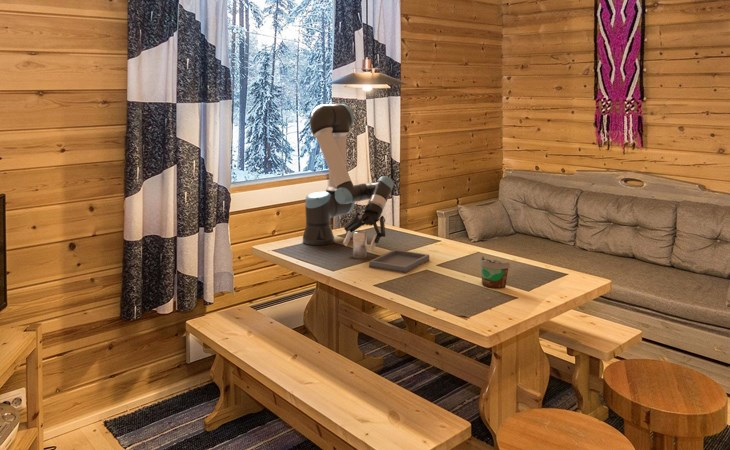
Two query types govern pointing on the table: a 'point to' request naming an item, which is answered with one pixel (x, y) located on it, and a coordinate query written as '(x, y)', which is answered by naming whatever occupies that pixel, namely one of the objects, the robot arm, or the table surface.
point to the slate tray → (399, 261)
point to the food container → (494, 273)
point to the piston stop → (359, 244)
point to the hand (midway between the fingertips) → (357, 246)
